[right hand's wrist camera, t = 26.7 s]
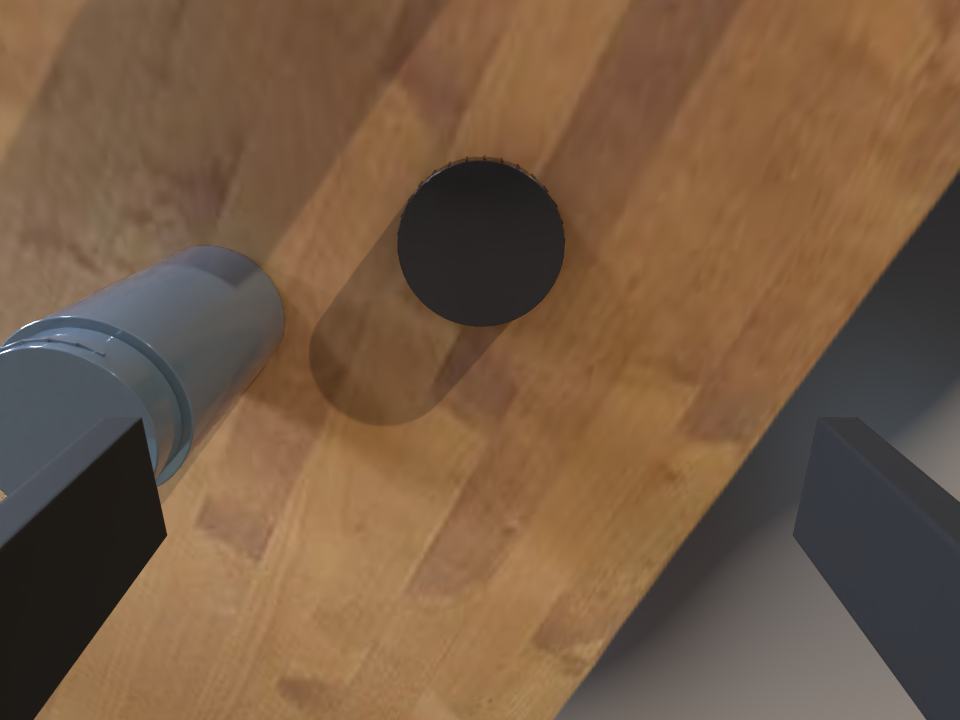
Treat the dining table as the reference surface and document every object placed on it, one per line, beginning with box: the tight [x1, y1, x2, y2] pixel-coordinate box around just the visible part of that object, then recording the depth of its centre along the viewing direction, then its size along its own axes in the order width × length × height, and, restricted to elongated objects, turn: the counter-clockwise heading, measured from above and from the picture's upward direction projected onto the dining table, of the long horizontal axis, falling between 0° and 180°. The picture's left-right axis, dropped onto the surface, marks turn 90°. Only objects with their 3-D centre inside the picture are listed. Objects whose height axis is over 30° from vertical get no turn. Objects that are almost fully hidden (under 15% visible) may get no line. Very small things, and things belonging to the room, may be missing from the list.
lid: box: [397, 155, 565, 326], centre depth 36 cm, size 9×9×2 cm
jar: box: [0, 246, 285, 495], centre depth 31 cm, size 8×8×16 cm
